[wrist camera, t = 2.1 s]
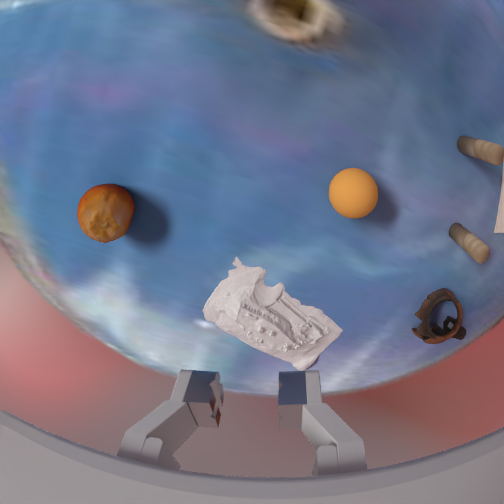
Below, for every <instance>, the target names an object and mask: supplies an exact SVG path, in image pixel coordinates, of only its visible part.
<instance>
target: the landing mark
mask: <svg viewBox="0 0 504 504" xmlns="http://www.w3.org/2000/svg"><path fill="white" fill-rule="evenodd" d="M494 233H504V163H503V175H502V185H501V193H500V200H499V207H498V213H497V219H496V225H495V230H494Z"/></svg>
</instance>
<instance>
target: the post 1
mask: <svg viewBox="0 0 504 504" xmlns="http://www.w3.org/2000/svg"><path fill="white" fill-rule="evenodd" d="M457 147H458V149H459V151H460V152H461V153H463V154H466V155H469V156H472V157H475V158H478V159H481V160H484V161H486V162H489V163H492V164H494V165H501V164H502V162H503V160H504V150H503V148H502V146H501V145H499V144H495V143H492V142H488V141H484V140H480V139H476V138H472V137H467V136H461V137H460V138H459V139H458V142H457Z"/></svg>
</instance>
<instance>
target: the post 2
mask: <svg viewBox="0 0 504 504" xmlns="http://www.w3.org/2000/svg"><path fill="white" fill-rule="evenodd" d="M449 236H450V237H451V238H452V239H453V240H454V241H455V242H456V243H457V244H459V245H460V246H461V247H462V248H463V249H464V250H465V251H466V252H467V253H468V254H469V255H470V256H472V257H473V258H474V259H475V260H476V261H477V262H478V263H484V262H485V261H486V260H487V259H488V257H489V254H490V249H489V247H488V246H487V245H486V244H484V243H483V242H482V241H481V240H480V239H478V238H477V237H476V236H475V235H473V234H472V233H471V232H470V231H468V230H467V229H466V228H464V227H463V226H462V225H461V224H459V223H454V224H453V225H452V226H451V227H450V229H449Z"/></svg>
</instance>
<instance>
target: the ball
mask: <svg viewBox="0 0 504 504" xmlns="http://www.w3.org/2000/svg"><path fill="white" fill-rule="evenodd" d="M329 198H330V202H331V204H332V206H333V207H334V209H335V210H336V211H337V212H338V213H339V214H341V215H343V216H345V217H347V218H361V217H364V216H366V215H368V214H369V213H370V212H371V211H372V210H373V209H374V207H375V206H376V203H377V200H378V188H377V185H376V182H375V181H374V179H373V178H372V177H371V176H370V175H369V174H368V173H367V172H365V171H363V170H361V169H357V168H348V169H344V170H342V171H340V172H339V173H337V174H336V175H335V176H334V178H333V179H332V181H331V183H330V186H329Z"/></svg>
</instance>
